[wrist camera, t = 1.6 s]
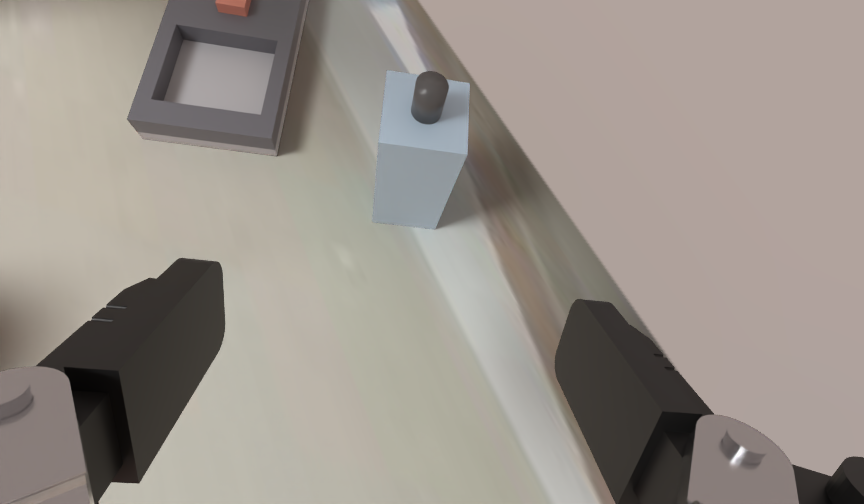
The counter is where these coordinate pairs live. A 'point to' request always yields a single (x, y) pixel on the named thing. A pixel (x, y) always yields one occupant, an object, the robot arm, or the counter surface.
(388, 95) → the plug
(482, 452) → the counter surface
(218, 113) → the grey rimmed tray
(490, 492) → the counter surface
